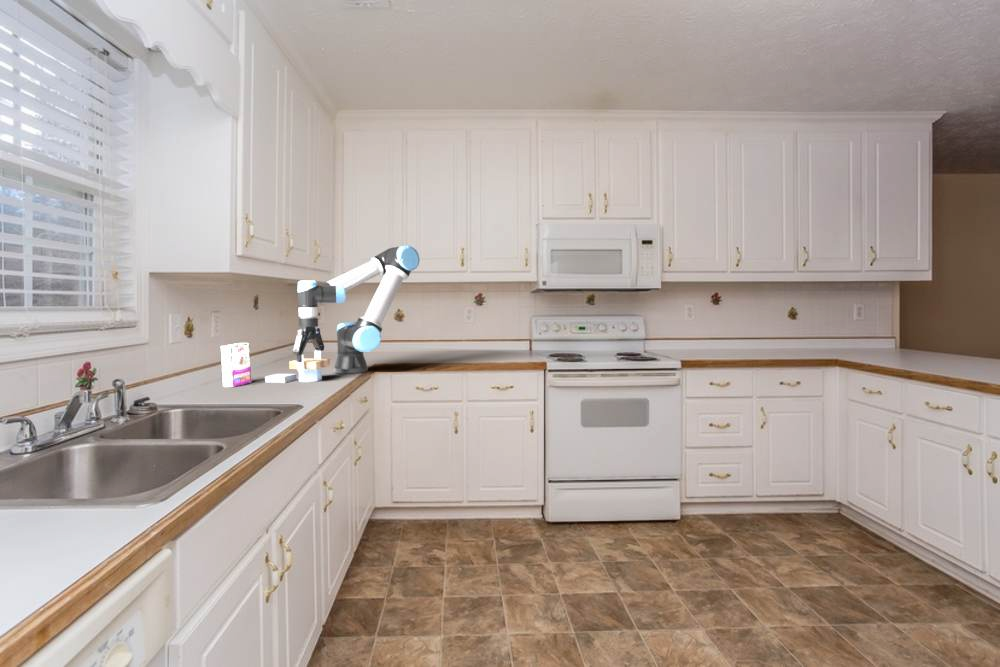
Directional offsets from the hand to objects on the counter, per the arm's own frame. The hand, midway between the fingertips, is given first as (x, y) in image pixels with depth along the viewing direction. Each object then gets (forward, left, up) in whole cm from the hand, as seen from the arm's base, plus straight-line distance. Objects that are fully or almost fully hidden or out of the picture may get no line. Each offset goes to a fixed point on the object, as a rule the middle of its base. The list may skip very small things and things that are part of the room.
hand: (309, 368), depth 212 cm
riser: (+4, -11, -5) cm, 13 cm away
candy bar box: (+15, -23, -5) cm, 28 cm away
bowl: (0, 0, -5) cm, 5 cm away
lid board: (0, 0, 0) cm, 0 cm away
